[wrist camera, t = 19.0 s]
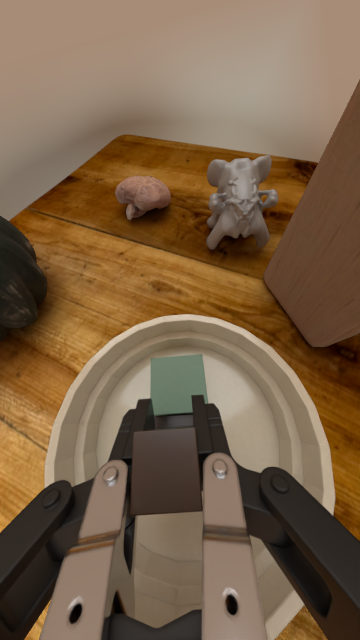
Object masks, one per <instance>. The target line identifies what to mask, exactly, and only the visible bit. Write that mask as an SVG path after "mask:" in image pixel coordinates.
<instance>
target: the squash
mask: <svg viewBox="0 0 360 640" xmlns="http://www.w3.org/2000/svg"><path fill="white" fill-rule="evenodd" d="M46 292H47V281H46V278H45V276H44V274H43V272H42V271H41V269H40V268H39V266H38V265H37V261H36V254H35V251H34V249H33V247H32V245H31V244H30V243H29V241H28V239H27V238H26V237H25V236H24V235H23V234H22V233H21V232H20V231H19V230H18V229H17V228H16V227H15V226H14V225H12V224H11V223H10V222H9V221H7V220H6V219H4V218H3V217H1V216H0V341H2V340H3V339H4V338H5V337H6V336H7V334H8V331H9V329H10V328H11V329H14V328H22V327H26V326H29V325H30V324H32V323H34V322H35V321H36V319H37V316H38V311H37V305H38V304H39V303H41V302H42V301H43V300H44V299H45V296H46Z"/></svg>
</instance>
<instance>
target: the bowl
mask: <svg viewBox="0 0 360 640" xmlns="http://www.w3.org/2000/svg"><path fill="white" fill-rule="evenodd" d="M197 354H202V356H203V364H204V372H205V381H206V389H207V397H208V404H209V403H214V404H215V406H216V407H217V408H218V409H219V412H220V416H221V419H222V423H223V427H224V431H225V434H226V438H227V442H228V446H229V449H230V453H231V455H232V457H233V459H234V460H235V461H236V462H237V463H238V464H239V465H240V466H242V467H244V468H246V469H248V470H252V471H255V472H259V473H261V472H262V471H263V470H264V469H265V468H267V467H278V468H281V469H283V470H285V471H287V472H288V473H289V474H290V475H292V476H293V477H294V478H295V479H296V480H297V481H298V482H299V483H300V484H301V485H302V486H303V487H304V488H305V489H306V490H307V491H308V492H309V493H310V494H311V495H312V496H313V497H314V498H315V499H316V500H317V501H318V502H319V503H320V504H322V505H323V506H324V507H325V508H326V509H327V510H328V511H329V512H330V513H331V514H332V515H333V513H334V504H335V489H334V480H333V471H332V463H331V454H330V448H329V444H328V441H327V438H326V435H325V433H324V430H323V427H322V424H321V421H320V418H319V415H318V412H317V410H316V407H315V404H314V403H313V401H312V400H311V398H310V396H309V395H308V393H307V391H306V390H305V388H304V386H303V385H302V383H301V381H300V380H299V378H298V376H297V375H296V373H294V371H293V370H292V369H291V367H290V366H289V365H288V364H287V363H286V362H285V361H284V360H283V359H282V358H281V357H280V356H279V355H278V354H277V353H276V352H275V351H274V349H273V348H272V347H270V346H269V345H267V344H266V343H265V342H263V341H262V340H260V339H259V338H257V337H256V336H254V335H253V334H251V333H250V332H248V331H247V330H245V329H244V328H241V327H239V326H236V325H234V324H231V323H228V322H226V321H223V320H221V319H217V318H213V317H207V316H200V315H193V314H183V315H171V316H162V317H159V318H156V319H153V320H149V321H146V322H143V323H140V324H137V325H135V326H133V327H132V328H130V329H128V330H126V331H125V332H123V333H121V334H120V335H118V336H116V337H115V338H113V339H112V340H110V341H109V342H108V343H107V344H106V345H105V346H104V347H103V348H102V349H101V350H99V351H98V352H97V353H96V354H95V355H94V356H93V357H92V358H91V359H90V360H89V361H88V362H87V363H86V365H85V366H84V368H83V369H82V370H81V372H80V373H79V375H78V376H77V378H76V379H75V380H74V382H73V383H72V385H71V386H70V387H69V389H68V392H67V394H66V396H65V398H64V401H63V403H62V405H61V408H60V410H59V412H58V415H57V417H56V419H55V421H54V424H53V428H52V432H51V437H50V442H49V447H48V451H47V456H46V461H45V488H46V487H47V486H48V485H50V484H52V483H54V482H56V481H59V480H66V481H69V482H70V484H71V486H72V487H73V486H76V485H78V484H81V483H83V482H86V481H88V480H90V479H92V478H94V477H95V475H96V473H97V472H98V470H99V469H100V468H101V467H102V466H103V465H104V464H106V463H107V462H108V459H109V456H110V454H111V451H112V448H113V445H114V442H115V439H116V436H117V434H118V430H119V428H120V425H121V422H122V419H123V416H124V415H125V414H126V413H127V412H128V410H129V409H136V405H137V402H138V399H148V398H150V387H151V358H159V357H172V356H185V355H197ZM201 494H202V505H203V491H201ZM202 531H203V511H201V512H186V513H170V514H154V515H139V516H138V520H137V536H136V552H135V568H134V591H135V619H136V620H138V621H140V622H143V623H145V624H147V625H149V626H151V627H154V628H159V627H162V626H164V625H165V624H167V623H169V622H171V621H173V620H175V619H177V618H179V617H181V616H182V615H184V614H186V613H188V612H190V611H192V610H198V609H202ZM249 536H250V539H251V544H252V549H253V554H254V560H255V566H256V572H257V578H258V584H259V590H260V596H261V602H262V608H263V614H264V620H265V626H266V632H267V638H268V640H275V639H276V638H277V636H278V635H279V634H280V633H281V632H282V631H283V629H284V628H285V627H286V626H287V625H288V624H289V622H290V621H291V620H292V619H293V618H294V617H295V615H296V614H297V613H298V612H299V611H300V610H301V608H302V607H303V606H304V603H303V602H302V600H301V599H300V597H299V596H298V594H297V593H296V591H295V590H294V588H293V587H292V585H291V584H290V582H289V581H288V579H287V578H286V576H285V575H284V573H283V572H282V570H281V569H280V567H279V566H278V564H277V563H276V561H275V560H274V559H273V557H272V556H271V554H270V553H269V551H268V550H267V548H266V547H265V545H264V544H263V542H262V540H261V539H259V538H256V537H253V536H251V535H249Z"/></svg>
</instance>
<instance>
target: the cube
mask: <svg viewBox="0 0 360 640" xmlns="http://www.w3.org/2000/svg"><path fill="white" fill-rule="evenodd" d="M202 394H203V395H204V400H205V404H208V397H207V389H206V381H205V372H204V364H203V356H202V354H197V355H185V356H172V357H159V358H151V387H150V398H151V399H152V404H153V411H154V416H165V415H178V414H192V413H193V411H192V399H191V395H202Z"/></svg>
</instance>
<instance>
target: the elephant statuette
mask: <svg viewBox="0 0 360 640" xmlns="http://www.w3.org/2000/svg"><path fill="white" fill-rule="evenodd" d="M270 168H271V157H270V156H269V155H266V156H263V157H259V158H257V159H255V160H253V161H251V160H250V159H248V158H243V159H234V160H233V161H232V162H230V163H228V162H226V161H224V160H213V161H212V162H211V163H210V165H209V167H208V171H207V179H208V182H209V184H210V185H212V186H214V187H218V190H217V194H216V193H213V194H212V195H211V196H210V201H209V208H210V210H212V211H213V214H212V216H211V217H210V218H209V219H208V220H207V225H208V227H210V228H211V229H213V230H212V231H211V233H210V235H209V236H208V237H207V241H206V243H207V246H208V248H209V249H211V250H213V249H215V248H216V247H217V245H218V243H219V241H220V240H221V239H222V238H223V237H224V236H225V235H228V236H232V237H233V238H238V237H239V234H242V236H243V237H244V238H246V237H247V236H249V235H251V234H253V235H254V237H255V239H256V245H257V246H258V247H259V248H262V247H264V246H265V245H266V244H267V242H268V241H269V233H268V229H267V226H266V224H265V221H264V219H263V216H262V213H261V212H263V208H264V207H267V208H269V207H274V206H275V205H276V204H277V203H278V194H277V191H276V190H274V189H272V190H265V191H259V190H258V187H259V183H262V182H263V181H264V180H265V179H266V178H267V176H268V174H269V172H270ZM262 195H268V198H267V200H266V201H265V202H264V203H262V200H260V199H261V197H262Z"/></svg>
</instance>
